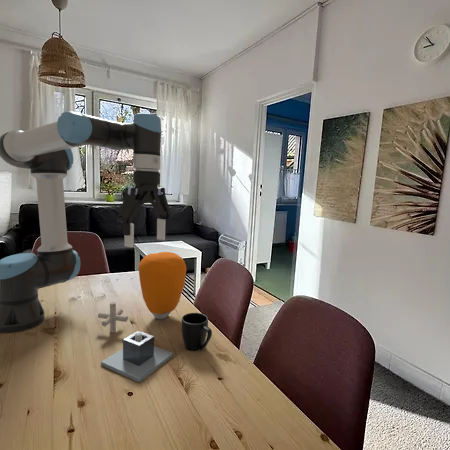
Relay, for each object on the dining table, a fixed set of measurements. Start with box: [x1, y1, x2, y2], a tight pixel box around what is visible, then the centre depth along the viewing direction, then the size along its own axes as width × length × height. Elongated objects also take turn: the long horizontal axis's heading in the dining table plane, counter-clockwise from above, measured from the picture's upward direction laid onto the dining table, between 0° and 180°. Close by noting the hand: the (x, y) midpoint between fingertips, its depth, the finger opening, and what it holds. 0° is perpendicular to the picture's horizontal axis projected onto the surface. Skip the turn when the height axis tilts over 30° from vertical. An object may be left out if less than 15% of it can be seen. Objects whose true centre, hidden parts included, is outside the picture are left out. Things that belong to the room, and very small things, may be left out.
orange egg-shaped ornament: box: [138, 251, 187, 320], centre depth 113 cm, size 17×17×25 cm
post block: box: [100, 333, 174, 383], centre depth 87 cm, size 14×14×8 cm
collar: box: [122, 330, 155, 366], centre depth 87 cm, size 6×6×6 cm
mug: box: [181, 312, 213, 352], centre depth 94 cm, size 8×12×10 cm
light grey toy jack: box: [97, 301, 129, 334], centre depth 102 cm, size 10×10×10 cm
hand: (146, 243), depth 91 cm, fingers open, 13 cm apart
